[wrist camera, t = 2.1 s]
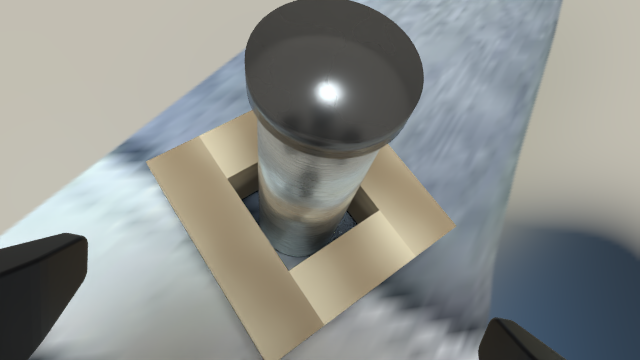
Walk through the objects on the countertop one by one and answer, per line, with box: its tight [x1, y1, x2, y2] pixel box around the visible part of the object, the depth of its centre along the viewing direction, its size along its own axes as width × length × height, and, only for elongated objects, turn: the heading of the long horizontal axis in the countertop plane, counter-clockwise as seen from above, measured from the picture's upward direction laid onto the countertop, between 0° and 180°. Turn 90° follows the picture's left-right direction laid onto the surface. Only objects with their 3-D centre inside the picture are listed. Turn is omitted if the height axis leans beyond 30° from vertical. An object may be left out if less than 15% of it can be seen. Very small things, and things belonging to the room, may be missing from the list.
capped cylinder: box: [245, 0, 424, 256], centre depth 17 cm, size 5×5×13 cm
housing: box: [146, 110, 456, 360], centre depth 21 cm, size 11×11×4 cm
